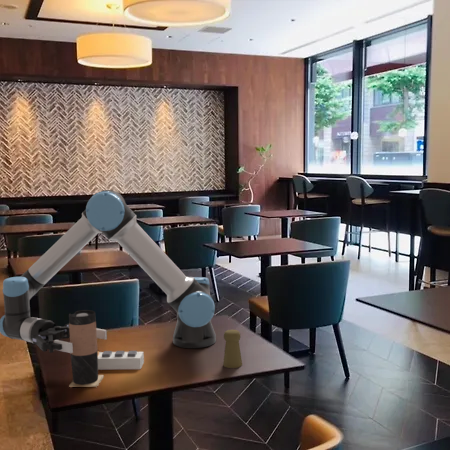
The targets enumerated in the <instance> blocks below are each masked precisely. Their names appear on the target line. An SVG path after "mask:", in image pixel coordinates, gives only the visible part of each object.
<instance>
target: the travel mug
mask: <svg viewBox="0 0 450 450" xmlns="http://www.w3.org/2000/svg"><path fill="white" fill-rule="evenodd" d="M96 320H97V319H96V311H94V310H90V309H82V310H77V311H74V313H72V314H71V313H69V314H68V324H69V331H70V337H69V343H72V345H73V353H70V362H71V374H72V381H73V382H74V383H75V384H79V385H85V384H91V383H94V382H96V381H97V380H98V375H99V370H98V351H99V350H98V338H97V333H96V328H97V321H96Z"/></svg>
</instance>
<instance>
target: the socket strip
mask: <svg viewBox="0 0 450 450" xmlns="http://www.w3.org/2000/svg"><path fill="white" fill-rule="evenodd" d="M97 351H98V371H99V370H101V371H102V370H105V371H106V370H110V371H111V370H141V369H142V368H143V365H144V363H145V355H144V353H145V352H144V351H137V350H129V351H125V350H115V351H112V350H104V351H103V352H102V351H100V350H97Z"/></svg>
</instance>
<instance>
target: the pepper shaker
mask: <svg viewBox="0 0 450 450" xmlns="http://www.w3.org/2000/svg"><path fill="white" fill-rule="evenodd" d="M223 339H224V341H225V345H224V353H223V355H224V356H223V362H222V363H223V364H222V365H223V367H224V368H228V369H237V368H240V367H242V366H243V360H242V359H243V358H242V353H241V347H240V346H241V345H240V342H239V341H240V340H241V333H240V331H239V330H237V329H228V330H225V331H224V333H223Z"/></svg>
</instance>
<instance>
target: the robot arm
mask: <svg viewBox="0 0 450 450" xmlns="http://www.w3.org/2000/svg"><path fill="white" fill-rule="evenodd" d="M98 234H102V235H104V236H105V238H106V239H107V240H109V241H114V242H117V243H118V245H120V247H122V249H123V250H125V252H126V253H127V254H128V255H129V256H130V257H131V259H133V260H134V261H135V262H136V263H137V265H138V266H139V267H140V268H141V269H142V270H143V271H144V272H145V274H147V275H148V276H149V277H150V279H152V281H153V282H155V284H156V285H157V286H158V287H159V288H160V289H161V290H162V292H164V293H165V295H166V303H167V304H169V306H170V307H172V308H173V310H174V311H175V312H176V317H177V318H176V319H177V321H176V324H175V327H174V328H175V329H174V331H173V335H172V343H173V345H175V346H176V347H179V348H184V349H201V348H206V347H210V346H212V345H214V344H215V343H216V342H217V339H216V337H217V335H216V332H215V330H214V326H213V324H212V319H213V317H214V315H215V311H216V310H215V308H216V306H215V302H214V299H213V298H212V296H211V293H210V287H211V286H210V285H211V284H210V279H209V278H208V277H203V276H199V277H197V276H195V277H193V276H186V275H185V273H184V272H183V271H182V270H181V269H180V267H178V266H177V264H176V263H174V261H173V260H172V259H171V258H170V257H169V256H168V255H167V254H166V253H165V252H164V251H163V249H162V248H161V247H160V246H159V245H158V244H157V243H156V242H155V241H154V240H153V239H152V238H151V237H150V235H148V233H147V232H146V231H145V230H144V229H143V228H142V227H141V226H140V225H139V223H138V222H137V214H136V213H135V212H134V211H133V210H132V209H131V208H130V207H129V205H127V203H126V200H125V198H124V197H123V196H122V195H121V193H119V192H117V191H115V190H112V189H104V190H101V191H99V192H96V193H95V194H93V195H92V196H91V197H90V199H88V201H87V203H86V206H85V209H84V211H82V213H81V218H80V219H78V220H77V222H75V224H73V225H72V226H71V227H70V228H69V229H68V230H67V231H66V232H64V234H63V235H62V236H61V237H60V238H58V240H57V241H55V243H54V244H53V245H52V246H51V247H50V248H48V250H47V251H45V253H43V254H42V255H41V256H39V258H38V259H37V260H36V261H35V262H34V263H33V264H32V265H31V266H30V267H28V269H27V270H26V271H24V273H23V274H22V275H20V276H13V277H8V278H5V279H4V280H3V282H2V294H3V305H4V315H2V316H1V318H0V334H1V335H2V336H3V337H7V338H10V339H12V340H13V339H14V340H19V341H24V342H28V343H32V344H33V345H36V346H37V347H38V348H39V349H40V350H41V351H42V352H47V351H49V352H48V353H50V354H51V353H54V352H55V351H59V352H63V353H69V354H71V353H73V345H72V343H70V341H64V339H70V331H69V323H65V324H64V326H60V325H56V324H55V322H53V320H48V319H43V318H38V317H33V316H32V317H31V307H30V306H31V305H30V300H31V299H32V298H33V297H34V296H35V295H36V294H37V293H38V292H39V290H41V289H42V288H43V287H44V286H45V285H46V284H47V283H48V282H49V281H50V280H51V279H52V278H53V277H54V276H55V275H57V273H58V272H59V271H60V270H61V269H62V268H64V266H66V265H67V264H68V263H69V262H70V261H71V260H73V258H74V257H75V256H76V255H77V254H78V253H79V252H80V251H81V250H83V248H84V247H85V246H86V245H87V244H89V243H90V242H91V241H92V239H94V238H95V237H96V236H97V235H98ZM96 333H97V339H99V340H107V339H108V335H107V334H108V333H107V329H104V328H102V329H101V328H98V327H96ZM62 339H63V340H62Z"/></svg>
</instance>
